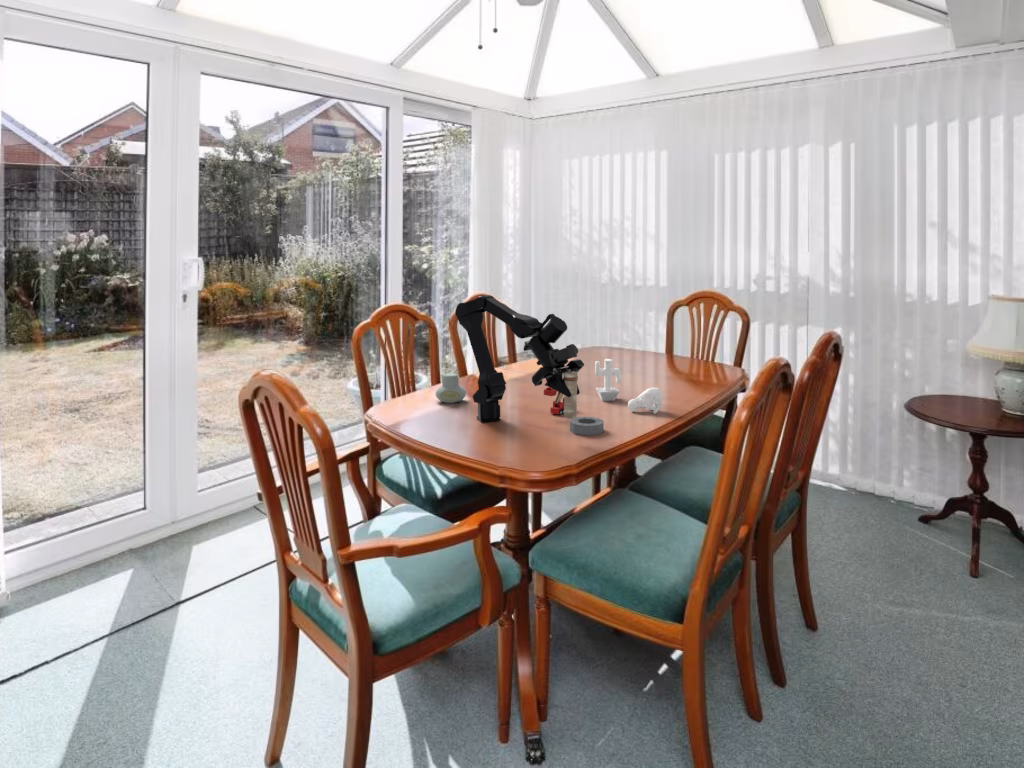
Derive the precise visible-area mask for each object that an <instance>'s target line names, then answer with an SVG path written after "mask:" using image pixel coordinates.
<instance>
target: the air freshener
mask: <svg viewBox="0 0 1024 768" xmlns="http://www.w3.org/2000/svg"><path fill="white" fill-rule="evenodd" d="M459 377H460V376H459V374H458V373H454V372H447V373H443V374H442V376H441V381H442V383H441V384H442V385H441V386H439V387H437V389H436V390H435V396H436V399H437V400H439V401H440V402H442V403H444V404H445V403H446V404H456V403H458V402H461V401H463V399H465V397H466V394H467V392H466V389H465V388H464V387H463V386H461V385H460V384H459V382H460V381H459V379H460V378H459Z"/></svg>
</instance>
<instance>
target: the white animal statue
mask: <svg viewBox="0 0 1024 768" xmlns="http://www.w3.org/2000/svg"><path fill="white" fill-rule="evenodd" d="M662 402H663V393H662V390H660V388H659V387H655V386H654V387H649V388H646V389H645V390H644V391H642V393H640V394H639V395H638V396H637V397H636V398H631V399H630V400H629V401H628V402H627V407H628V409H629V410H630V411H631V413H636V412H637V411H638V409H648V410H650V411H652V412H653V414H657V413H658V412H659V411H660V410H661V406H662Z"/></svg>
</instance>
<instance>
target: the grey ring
mask: <svg viewBox="0 0 1024 768" xmlns="http://www.w3.org/2000/svg"><path fill="white" fill-rule="evenodd" d="M569 432H571V433H573V434H575V435H579V436H597V435H601V434H603V433H604V420H603V419H601V418H599V417H595V416H576V418H570V422H569Z"/></svg>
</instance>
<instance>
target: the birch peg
mask: <svg viewBox="0 0 1024 768" xmlns="http://www.w3.org/2000/svg"><path fill="white" fill-rule="evenodd" d="M578 379H579V376H578V372H565V376H564V380H565V384H566V386H567V387H568V389H569V391H570V393H571V395H572V396H571V397H567V396H565V395H563V398H564V413H563V417H564V418H566V419H573V418H576V417H577V414H578V413H577V410H578V409H577V407H578V405H577V404H578V402H577V400H578V395H577V385H578Z"/></svg>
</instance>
